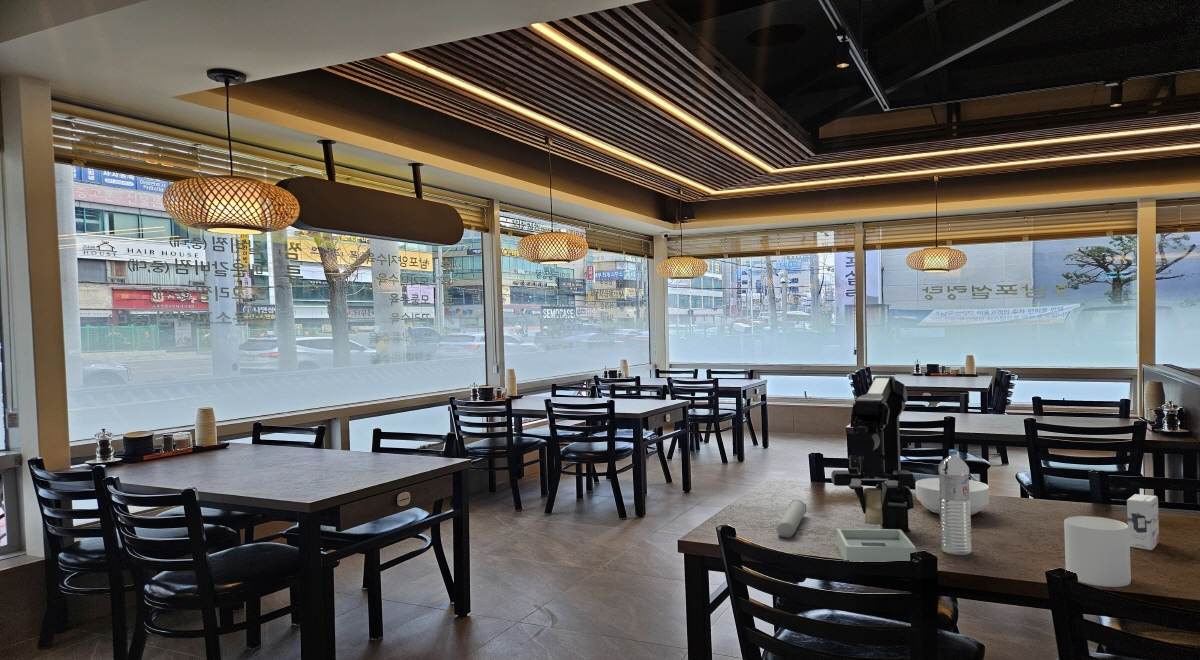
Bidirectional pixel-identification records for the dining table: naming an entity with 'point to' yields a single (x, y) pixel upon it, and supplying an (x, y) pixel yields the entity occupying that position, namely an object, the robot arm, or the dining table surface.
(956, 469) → the water bottle
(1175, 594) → the dining table surface
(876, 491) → the peg
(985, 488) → the bowl
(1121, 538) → the cup
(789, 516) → the tube
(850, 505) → the dining table surface
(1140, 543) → the ink box
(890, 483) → the robot arm
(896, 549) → the caddy
